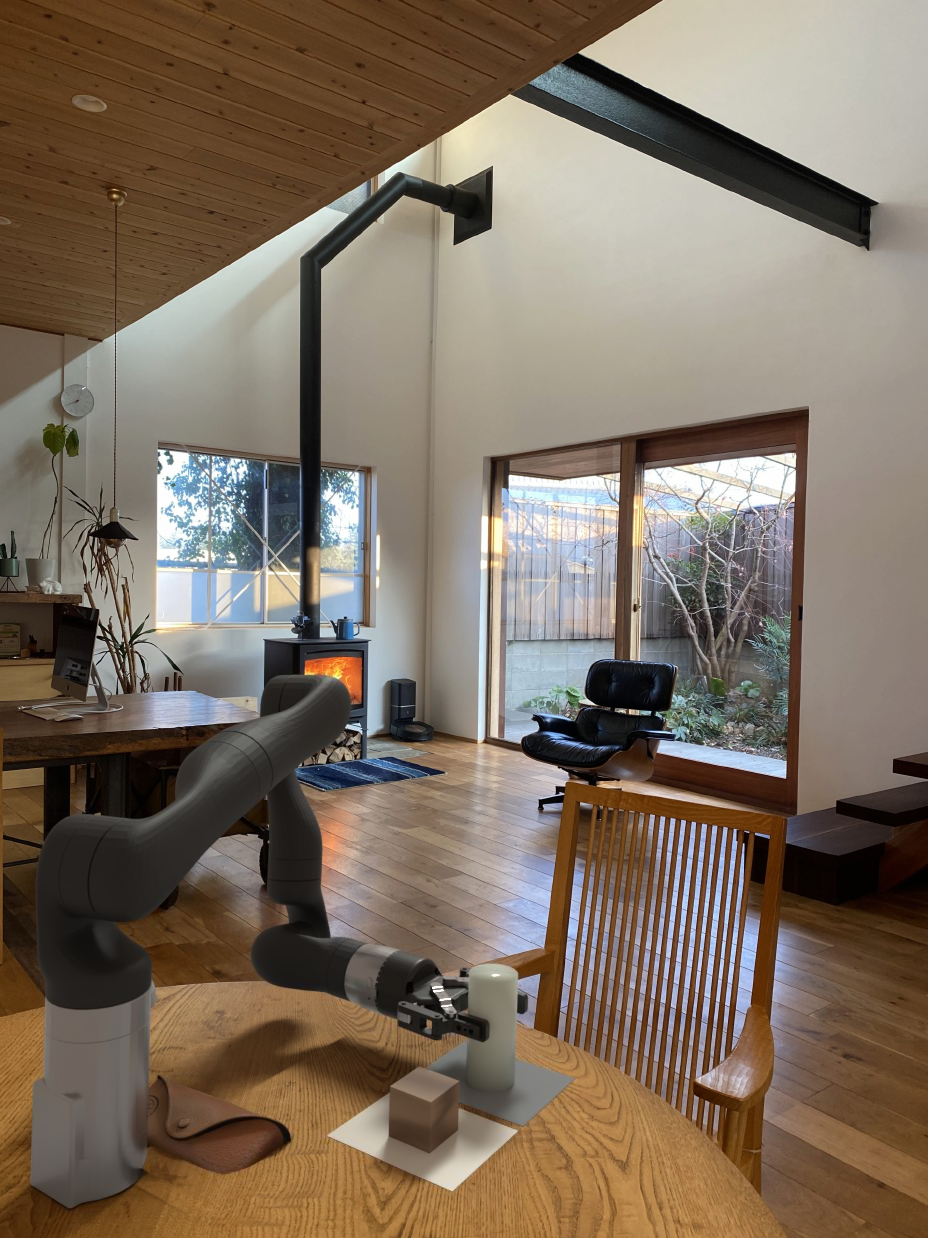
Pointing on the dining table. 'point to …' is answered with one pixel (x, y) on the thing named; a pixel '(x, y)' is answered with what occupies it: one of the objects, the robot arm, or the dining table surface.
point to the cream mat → (438, 1167)
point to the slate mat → (511, 1104)
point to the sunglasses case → (209, 1129)
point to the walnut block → (424, 1109)
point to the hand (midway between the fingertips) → (507, 1018)
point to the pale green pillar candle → (493, 1027)
